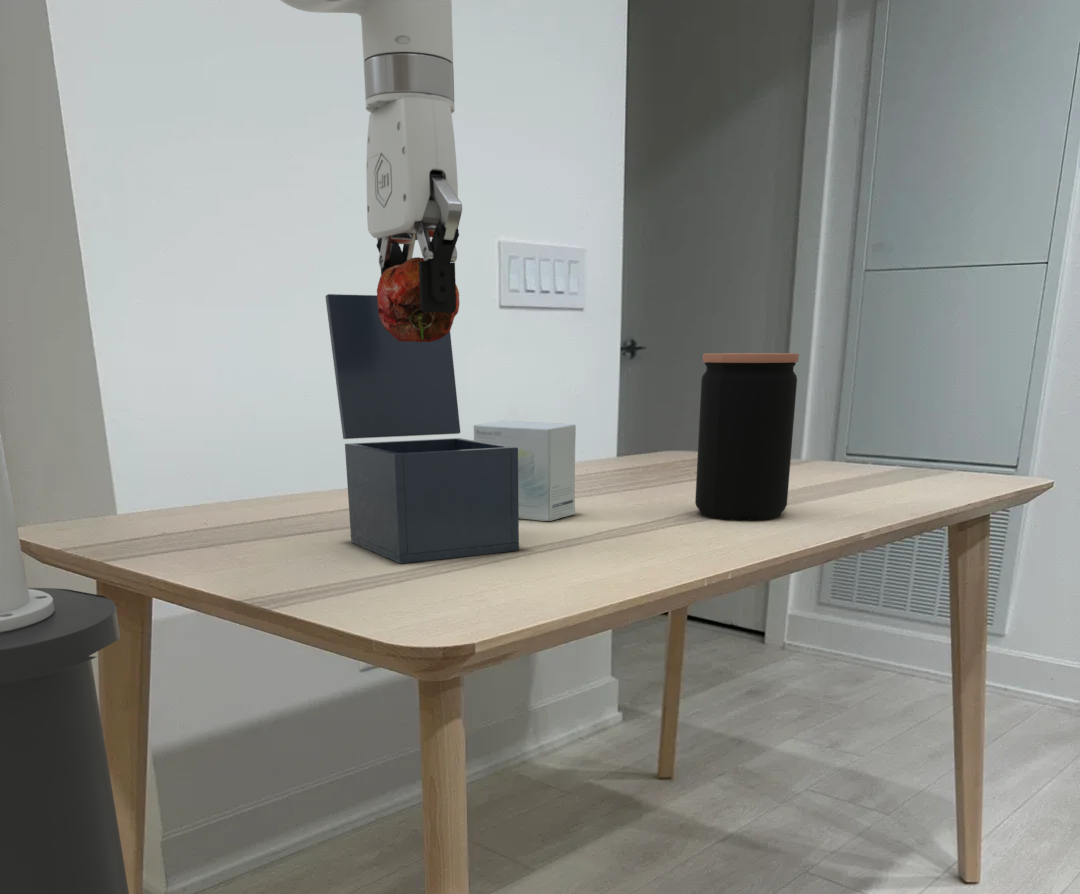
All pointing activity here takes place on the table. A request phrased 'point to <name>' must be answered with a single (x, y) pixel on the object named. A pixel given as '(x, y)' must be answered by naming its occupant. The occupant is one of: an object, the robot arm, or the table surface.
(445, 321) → the pomegranate
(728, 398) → the coffee jar
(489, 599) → the table surface
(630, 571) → the table surface
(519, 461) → the cosmetics box
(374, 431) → the tin lid
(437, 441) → the tea tin
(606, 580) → the table surface
